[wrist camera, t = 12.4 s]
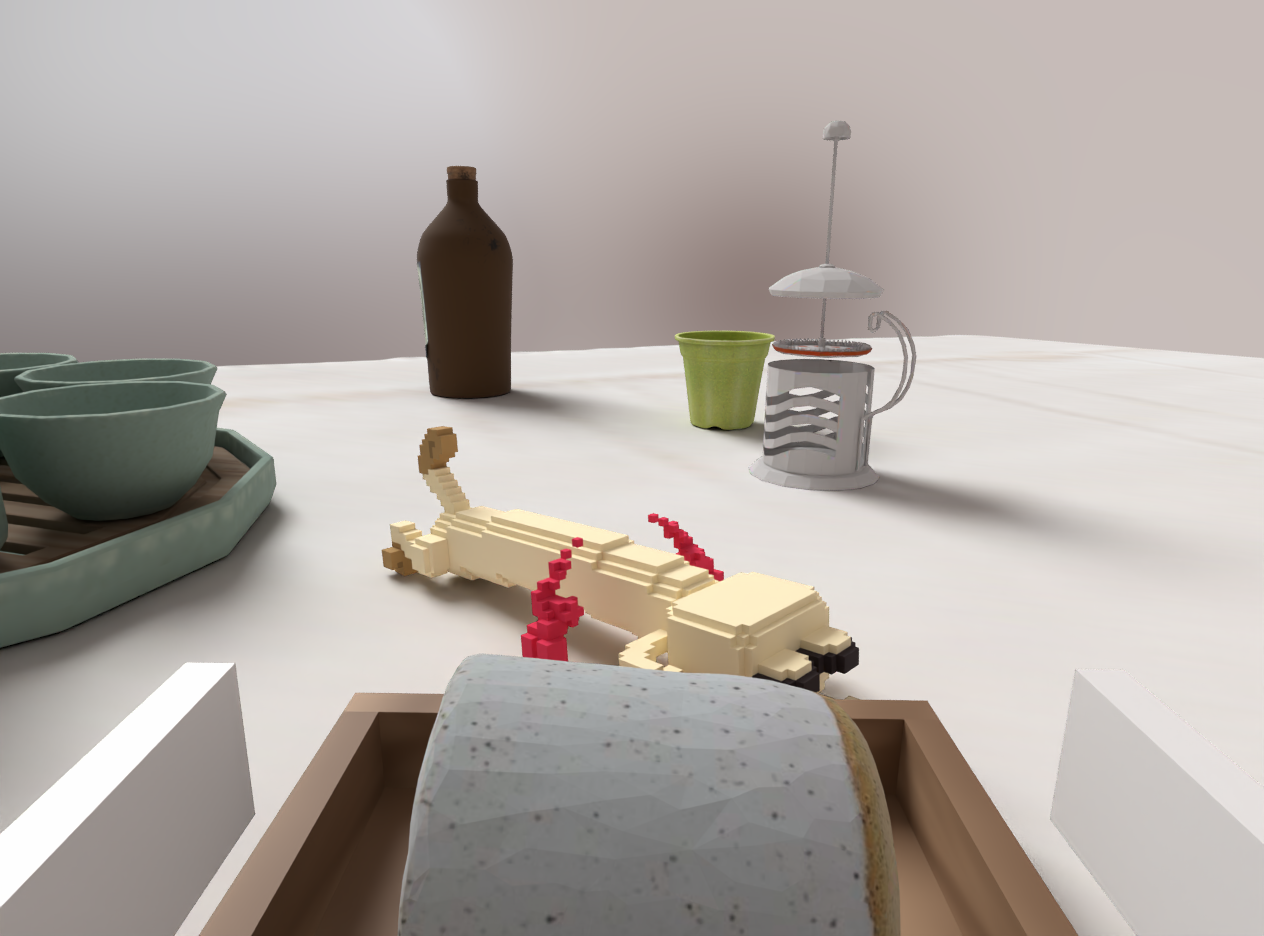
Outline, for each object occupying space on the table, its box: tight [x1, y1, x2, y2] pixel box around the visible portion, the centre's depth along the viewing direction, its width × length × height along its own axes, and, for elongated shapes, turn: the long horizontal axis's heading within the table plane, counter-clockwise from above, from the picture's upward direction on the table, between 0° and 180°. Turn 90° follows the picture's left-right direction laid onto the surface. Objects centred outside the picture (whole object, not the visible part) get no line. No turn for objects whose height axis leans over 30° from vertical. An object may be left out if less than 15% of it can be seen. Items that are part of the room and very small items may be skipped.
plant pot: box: [675, 331, 775, 430], centre depth 77 cm, size 9×9×9 cm
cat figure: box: [382, 426, 860, 700], centre depth 34 cm, size 10×9×25 cm
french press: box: [748, 121, 916, 491], centre depth 58 cm, size 10×12×25 cm
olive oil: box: [417, 166, 513, 398], centre depth 91 cm, size 11×11×25 cm
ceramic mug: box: [398, 654, 901, 936], centre depth 17 cm, size 11×8×8 cm
